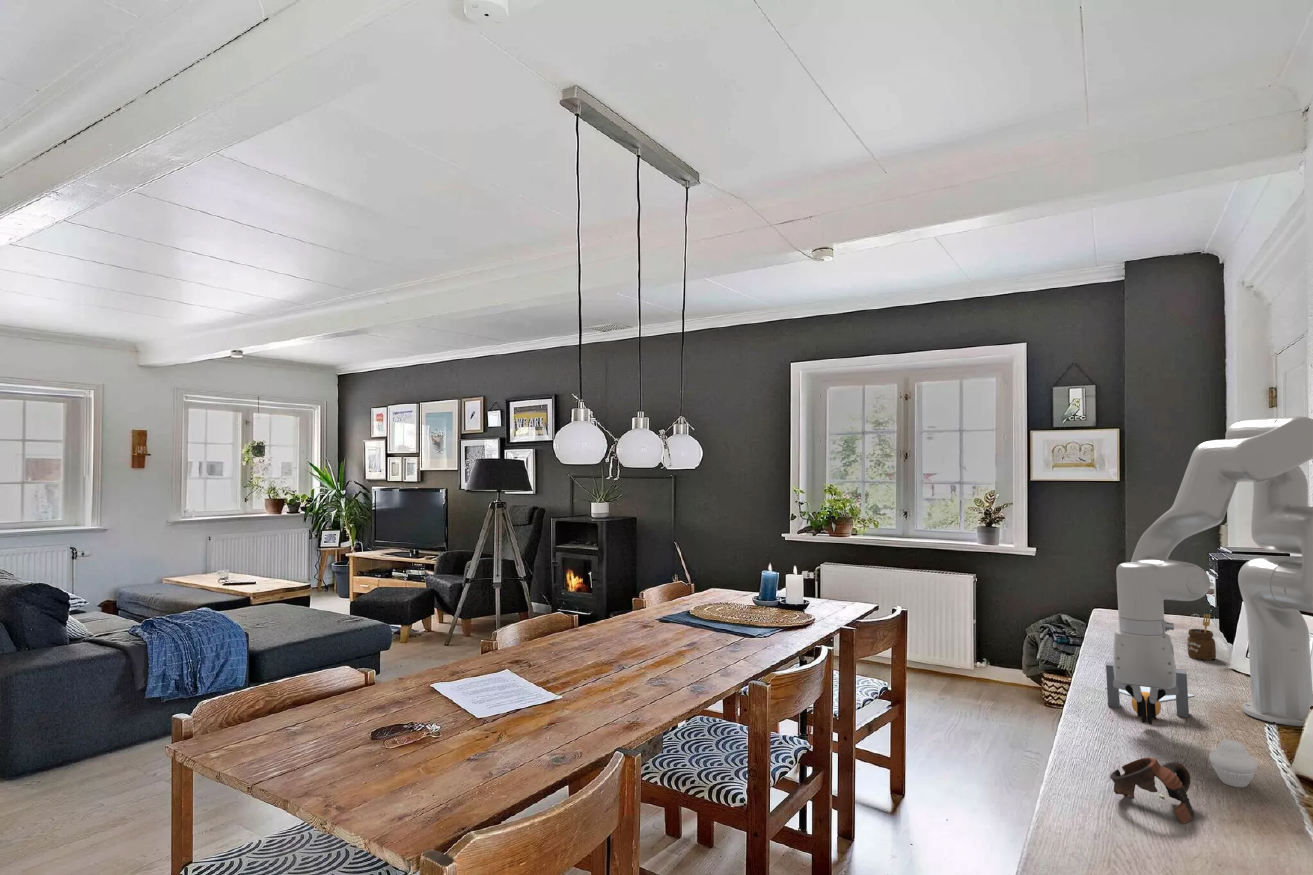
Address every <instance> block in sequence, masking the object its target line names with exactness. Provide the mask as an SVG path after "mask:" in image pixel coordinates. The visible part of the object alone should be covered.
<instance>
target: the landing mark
mask: <svg viewBox="0 0 1313 875" xmlns="http://www.w3.org/2000/svg"><path fill="white" fill-rule="evenodd" d="M1104 687H1105V689H1107V685H1105V686H1104ZM1140 688H1141V692H1149V693H1150V687H1143V686H1140ZM1158 689H1159V688H1158ZM1120 693H1121V694H1123V695H1127V696H1129V697H1132V696H1131V695H1130V694H1129V693H1128V692H1127V691H1125V690H1122V689H1119V694H1120ZM1193 697H1195V695H1194V694H1190V693H1188V698H1193ZM1173 700H1175V701H1176V695H1169V696H1168V695H1167V696H1164V697H1162V698H1161V699H1160V700H1159V701H1160V703H1161V702H1162V703H1163V702H1168V701H1173Z"/></svg>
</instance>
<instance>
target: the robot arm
mask: <svg viewBox="0 0 1313 875" xmlns="http://www.w3.org/2000/svg"><path fill="white" fill-rule="evenodd" d="M1312 459H1313V418H1311V417H1307V416H1300V415H1299V416H1283V417H1265V418H1255V419H1244V420H1241V421H1238V422H1237V421H1236V422H1235V423H1233V424H1231V425H1230V426H1229V427H1228V428H1227V430H1226V432H1225V438H1224V439H1213V440H1212V439H1211V440H1208V441H1204V442H1202V443H1199V445H1197V446H1196V447H1195V448H1194V450H1193V452H1192V453H1191V456H1190V458H1189V462H1188V464H1187V467H1186V470H1185V472H1184V476H1183V479H1182V481H1181V483H1180V485H1179V489H1178V491H1177V492H1176V493H1177V494H1176V497H1175V499H1174V501H1173V504H1172V506H1171V507H1170V509H1168V510H1167V511H1166V512H1164V513H1163V514H1161V516H1160V517H1158V518H1157V519H1156V520H1155V521H1154V522H1153V523H1152V524H1151V525H1150V526H1149V527H1148V528H1147V529H1146V530H1145V531H1144V532H1143V533H1142V535H1141V536H1140V538H1139V540H1138V541H1137V544H1136V546H1135V549H1134V552H1133V555H1132V558H1131V560H1130V562H1128V561H1127V562H1122V563H1120V564H1118V566H1117V567H1116V572H1115V574H1116V575H1115V576H1116V593H1117V608H1118V609H1117V610H1118V627H1119V628H1118V629H1116V630H1115V631H1114V637H1113V648H1112V649H1113V652H1112V654H1113V656H1112V657H1113V660H1112V661H1113V668H1114V681H1113V686H1114V687H1115V688H1119V689H1122V690H1125V691H1127V692H1128V693H1129V694H1130V695H1131V696H1130V695H1129V696H1130V697H1132V698H1134V699H1135V700H1136V701H1137V713H1136V714H1137V717H1138V718H1141V723H1142V724H1149V725H1153V719H1154V720H1157V716H1156V709H1155V703H1156V702H1157V701H1158V700H1160V699H1161V698H1162V697H1164V696H1167V695H1168V696H1169V695H1178V694H1179V690H1178V687H1177V685H1176V669H1177V668H1176V661H1175V660H1176V658H1175V652H1174V651H1175V650H1174V646H1173V642H1172V639H1171V634H1168V633H1166V632H1167V631H1174V630H1175V625H1174V622H1168V621H1167V620H1165V610H1164V601H1165V600H1170V601H1180V602H1193V601H1196V600H1197V601H1198V600H1199V599H1201V598H1203V597H1204V596H1205V595H1206V594H1207V593H1208V592H1209V590H1210V587H1211V579H1210V576H1209V575H1208V573H1207V572H1206V571H1205V570H1204V568H1202V567H1200V566H1199V565H1197V564H1194V563H1191V562H1186V561H1180V560H1173V559H1169V557H1170V555H1171V553H1172V552H1173V550H1174V549H1175V548H1176V547H1177V545H1179V544H1180V543H1181V542H1182V541H1184V540H1185V539H1188V538H1189V537H1191V536H1193V535H1196V534H1198V533H1201V532H1203V531H1206V530H1208V529H1211V528H1214V527H1216V526H1218V525H1220V524H1221V523H1222V522H1223V521H1224V519H1225V516H1226V513H1227V511H1228V508H1229V505H1230V502H1231V499H1232V498H1233V494H1234V491H1235V489H1236V488H1237V487H1236V486H1237V484H1238V483H1240V482H1245V483H1246V482H1248V483H1249V482H1250V483H1251V482H1252V484H1253V495H1252V510H1251V511H1252V513H1251V529H1250V530H1251V532H1250V533H1251V538H1252V540H1253V542H1254V543H1255V545H1257V546H1258V547H1259V548H1262V549H1264V550H1268V551H1272V552H1277V553H1287V554H1293V555H1301V561H1299V560H1293V559H1285V558H1276V557H1258V558H1253V559H1251V560H1248V561H1246V562H1245V563H1244V564H1243V565H1242V566H1241V567H1240V570H1239V572H1238V576H1237V577H1238V578H1237V582H1238V587H1239V592H1240V595H1241V598H1242V601H1243V604H1244V610H1245V615H1246V623H1247V624H1246V625H1247V627H1246V628H1247V639H1248V640H1247V642H1248V644H1247V645H1248V659H1249V674H1250V692H1251V701H1247V702H1244V703H1243V704H1242V711H1243V712H1244V713H1245V714H1246V715H1248V716H1250V717H1253V718H1255V719H1258V720H1261V721H1264V722H1269V723H1273V722H1275V723H1274V724H1277V725H1278V724H1279V725H1284V726H1285V725H1286V726H1292V727H1304V726H1303V725H1304V723H1305V718H1306V717H1307V715H1308V713H1309V709H1310V707H1311V706H1313V676H1312V675H1313V674H1312V661H1311V645H1310V641H1311V640H1310V631H1309V628H1308V627H1309V626H1308V625H1307V622H1306V619H1305V618H1304V616H1303V614H1302V613H1301V612H1306V613H1311V614H1313V506H1309V495H1308V494H1309V484H1308V480H1307V476H1306V475H1305V473H1304V471H1303V469H1302V467H1300V466H1301V465H1302V464H1305V463H1307V462H1309V461H1311V460H1312ZM1300 611H1301V612H1300ZM1140 686H1143V687H1150V695H1149V696H1148V697H1147V700H1144V696H1143V695H1142V692H1141V688H1140ZM1158 688H1159V689H1158ZM1146 706H1147V717H1146ZM1301 725H1302V726H1301Z"/></svg>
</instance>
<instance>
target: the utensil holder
mask: <svg viewBox="0 0 1313 875" xmlns="http://www.w3.org/2000/svg"><path fill="white" fill-rule="evenodd" d="M1195 615H1196V616H1195ZM1192 617H1193V620H1195V617H1196V618H1197V620H1199V614H1198V613H1195V614H1193V615H1192V616H1190V621H1191V622H1190V623H1191V625H1192V627H1193V628H1190V629H1188V635H1189V636H1187V645H1186V646H1187V654H1188V657H1189V658H1191V659H1195V660H1198V659H1203V660H1202V661H1213V660H1212V659H1215V660H1216V658H1217V649H1216V641H1215V639H1214V632H1213V631H1211V630H1208V626H1210V623H1211V613H1209V614H1205V613H1204V614H1203V618H1202V619H1203V620H1202V619H1200V621H1201V622H1198V627H1200V628H1197V626H1196V625H1197V624H1196V622H1194V624H1193V621H1192ZM1200 623H1201V624H1200ZM1203 626H1204V629H1203Z"/></svg>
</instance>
